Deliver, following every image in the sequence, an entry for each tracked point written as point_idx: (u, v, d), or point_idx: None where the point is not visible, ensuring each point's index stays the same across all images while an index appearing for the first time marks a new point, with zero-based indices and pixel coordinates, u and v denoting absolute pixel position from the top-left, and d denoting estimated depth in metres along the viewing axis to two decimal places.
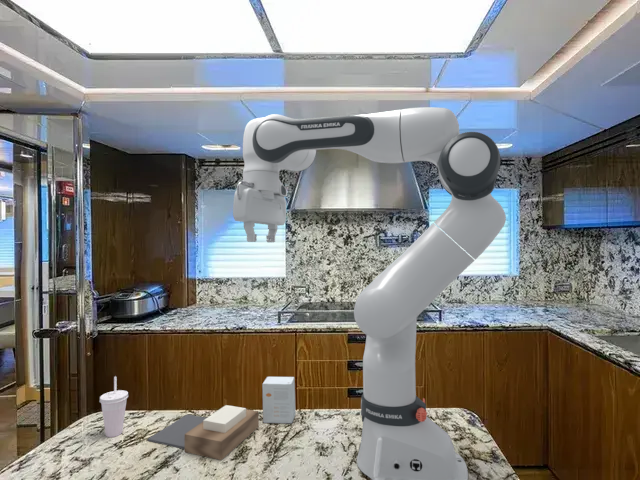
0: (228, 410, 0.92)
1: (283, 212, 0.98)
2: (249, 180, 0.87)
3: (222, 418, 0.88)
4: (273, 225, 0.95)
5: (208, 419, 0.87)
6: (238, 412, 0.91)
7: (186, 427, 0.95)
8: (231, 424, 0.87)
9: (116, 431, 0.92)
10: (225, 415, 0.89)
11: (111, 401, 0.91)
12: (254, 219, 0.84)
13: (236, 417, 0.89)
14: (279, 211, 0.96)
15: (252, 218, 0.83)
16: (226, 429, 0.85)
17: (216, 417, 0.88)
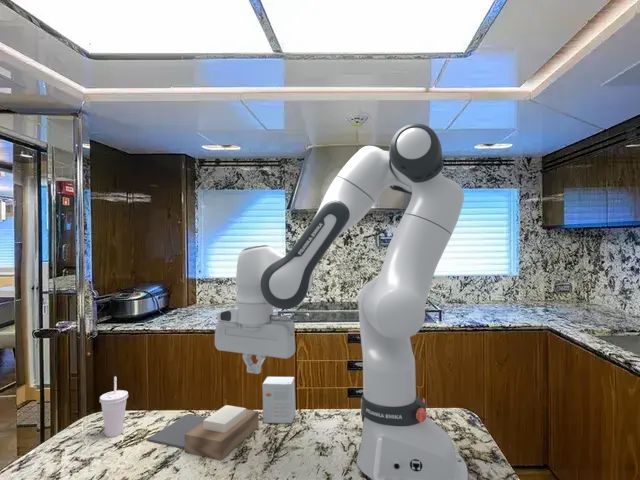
0: (228, 410, 0.92)
1: None
2: (269, 312, 0.85)
3: (222, 418, 0.88)
4: None
5: (208, 419, 0.87)
6: (238, 412, 0.91)
7: (186, 427, 0.95)
8: (231, 424, 0.87)
9: (116, 431, 0.92)
10: (225, 415, 0.89)
11: (111, 401, 0.91)
12: None
13: (236, 417, 0.89)
14: None
15: None
16: (226, 429, 0.85)
17: (216, 417, 0.88)
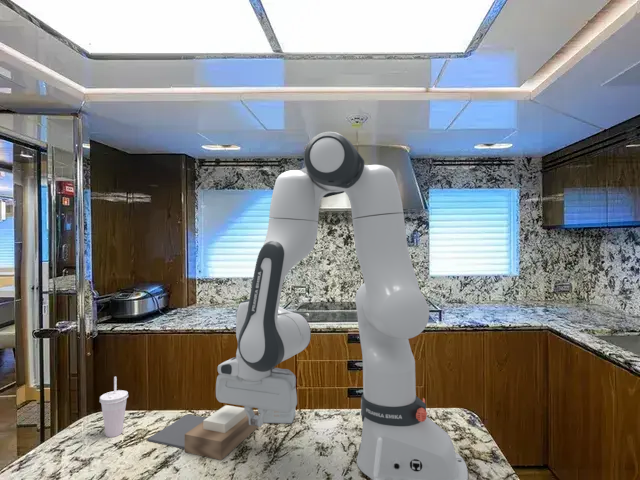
0: (228, 410, 0.92)
1: None
2: None
3: (222, 418, 0.88)
4: None
5: (208, 419, 0.87)
6: (238, 412, 0.91)
7: (186, 427, 0.95)
8: (231, 424, 0.87)
9: (116, 431, 0.92)
10: (225, 415, 0.89)
11: (111, 401, 0.91)
12: None
13: (236, 417, 0.89)
14: None
15: None
16: (226, 429, 0.85)
17: (216, 417, 0.88)
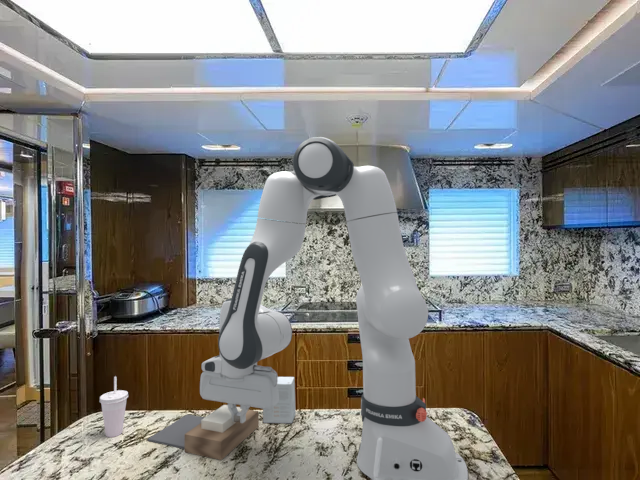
0: (226, 410, 0.92)
1: None
2: None
3: (220, 418, 0.88)
4: None
5: (206, 419, 0.87)
6: None
7: (186, 427, 0.95)
8: (229, 424, 0.87)
9: (116, 431, 0.92)
10: (223, 415, 0.89)
11: (111, 401, 0.91)
12: None
13: None
14: None
15: None
16: (224, 429, 0.85)
17: (214, 417, 0.88)
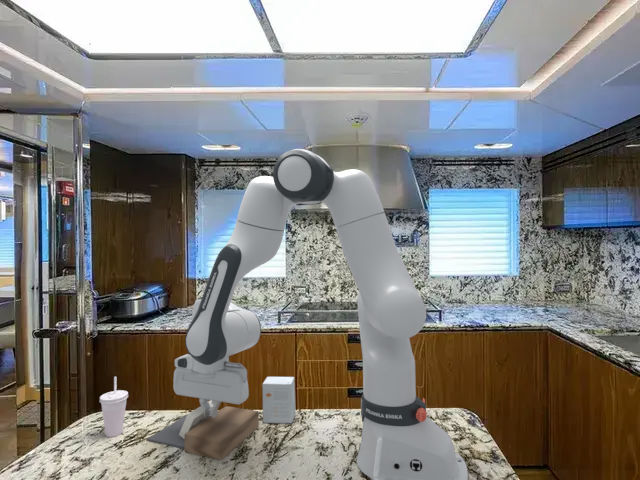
0: None
1: None
2: (223, 359, 0.90)
3: None
4: None
5: None
6: None
7: None
8: (198, 412, 0.91)
9: (116, 431, 0.92)
10: None
11: (111, 401, 0.91)
12: None
13: None
14: None
15: None
16: (193, 416, 0.89)
17: None
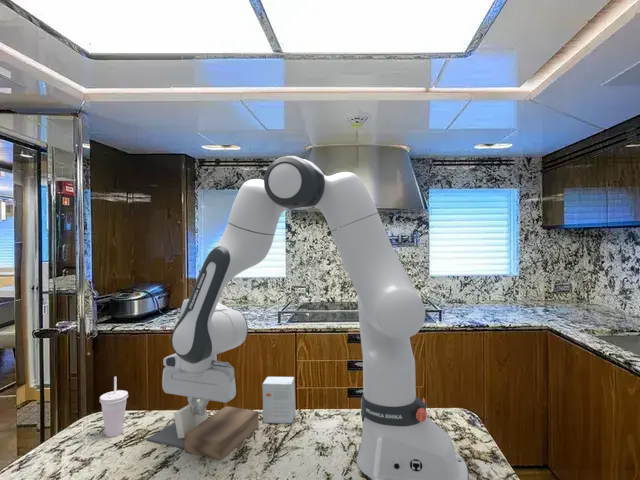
0: None
1: None
2: (211, 358, 0.91)
3: None
4: None
5: None
6: None
7: None
8: (184, 408, 0.92)
9: (116, 431, 0.92)
10: None
11: (111, 401, 0.91)
12: None
13: (188, 405, 0.94)
14: None
15: None
16: (179, 411, 0.90)
17: None
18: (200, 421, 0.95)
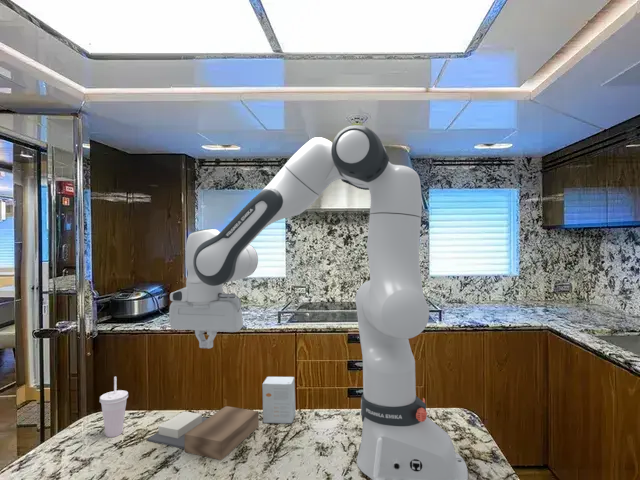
0: None
1: None
2: (217, 290, 0.92)
3: None
4: None
5: None
6: None
7: None
8: None
9: (116, 431, 0.92)
10: None
11: (111, 401, 0.91)
12: None
13: None
14: None
15: None
16: None
17: None
18: (191, 418, 0.96)
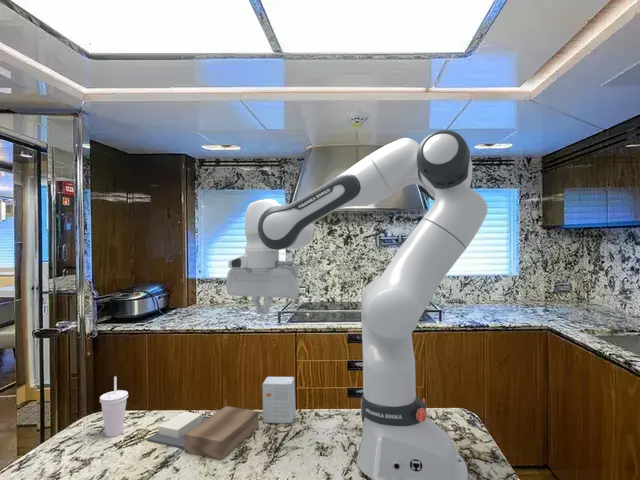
0: None
1: None
2: (275, 258, 0.95)
3: None
4: (259, 296, 0.98)
5: None
6: None
7: None
8: None
9: (116, 431, 0.92)
10: None
11: (111, 401, 0.91)
12: None
13: None
14: None
15: None
16: None
17: None
18: (191, 418, 0.96)
